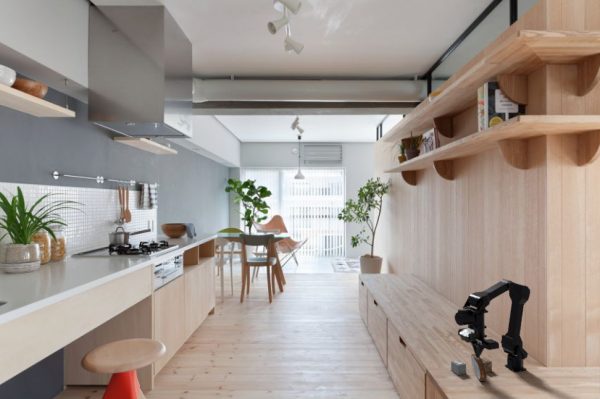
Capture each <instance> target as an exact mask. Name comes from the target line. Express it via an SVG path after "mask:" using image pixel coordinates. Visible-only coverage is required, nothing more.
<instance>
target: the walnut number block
mask: <svg viewBox="0 0 600 399" xmlns="http://www.w3.org/2000/svg"><path fill="white" fill-rule="evenodd" d="M480 358H481V359H482V361H483V362H484V365H485V369H486V373H488V372H492V371H493V361H492V360H490V359H488V358H486V357H480Z"/></svg>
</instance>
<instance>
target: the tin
mask: <svg viewBox="0 0 600 399" xmlns="http://www.w3.org/2000/svg"><path fill="white" fill-rule="evenodd" d="M481 358H482V357H481V356H480V357H479V358H477V357H476V355H475V353H471V367H472V370H473V372H474V374H475V376H476V378H477V380H478V381H480V382H486V381H487V376H488V375H487V372H486V369H485V365H484V362H483V361H482V359H481Z"/></svg>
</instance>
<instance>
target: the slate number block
mask: <svg viewBox="0 0 600 399" xmlns="http://www.w3.org/2000/svg"><path fill="white" fill-rule="evenodd" d="M450 371H451V372H452V373H454V374H455V375H458V376H461V375H465V374H467V364H466V363H465V362H464V361H461V360H460V359H455V360H451V362H450Z"/></svg>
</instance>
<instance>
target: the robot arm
mask: <svg viewBox="0 0 600 399" xmlns="http://www.w3.org/2000/svg"><path fill="white" fill-rule="evenodd" d="M506 292H508V296H509V298H510V301H511V304H510V312H509V318H508V327H507V332H506V333H505V334H502V335H501V341H500V342H498V340H494V339H493V338H488V335H487V334H485V333H486V331H485V329H487V328H488V327H487V325H485V314H487V313H489V310H487V309H486V308H487V307H489V306H490V304H491V302H492V301H493V300H494V299H495V298H497V297H500V296H501V295H502V294H505V293H506ZM530 295H531V289H530V288H529V286H527V285H523V284H520V283H516V282H514V281H512V280H508V279H505V278H503V279H500V281H499V282H497V283H495V284H493V285H492V286H490V287H489V288H488V287H487V288H486V289H484V290H482V291H476V292H473V293H470V294H469V295H468V296H467V299H466V301H465V303H464V305H463V306H462V309H457V312H456V313H455V314H454V320H455V323H456V324H457V325H458V326H459V327H460V326H467V327H465V328H459V329H458V330H457V336H459V338H460V340H461V341H463V342H466V343H468V344H469V343H470V344H471V346H472V349H473V353H474V354H475V355H476V357H477V358H479V357H480V358H481V355H482V353H483V351H485V350H484V349H486V350H488V351H492V350H498V349H500V345H501V348H502V349H503V353H504V354H505V353H506V356H507V358H506V364H504V367H506V368H507V369H510V370H512V371H513V372H516V373H519V372H522V371H523V372H524V371H526V370H527V368H526V367H524V360H526V359H527V358H528V351H526V350H525V349H524V348H523V346H524V344H523V343H524V342H523V340H522V337H521V331H522V330H521V329H522V321H523V315H524V314H523V313H524V307H525V304H526V303H527V302H528V301H529V299H530ZM486 338H488V339H486Z"/></svg>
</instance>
